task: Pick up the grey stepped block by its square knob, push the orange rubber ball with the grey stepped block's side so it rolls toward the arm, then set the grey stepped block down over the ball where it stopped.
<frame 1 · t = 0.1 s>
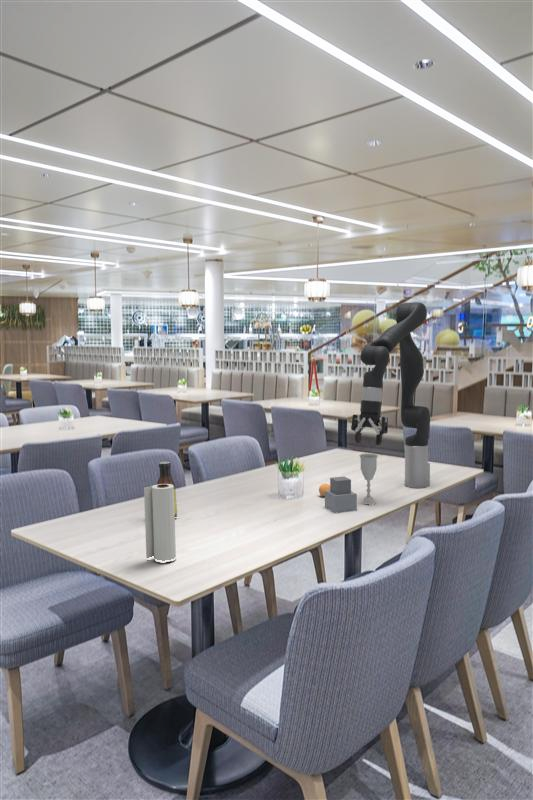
hand: (367, 443, 228), 22 cm above the table, tool pointing down, fingers open, 8 cm apart
paper towel roll: (163, 560, 174), on the table
grey stepped block: (340, 508, 224), on the table
sauce bottle: (167, 519, 214), on the table
ball: (325, 490, 241), on the table
chalice: (368, 503, 231), on the table
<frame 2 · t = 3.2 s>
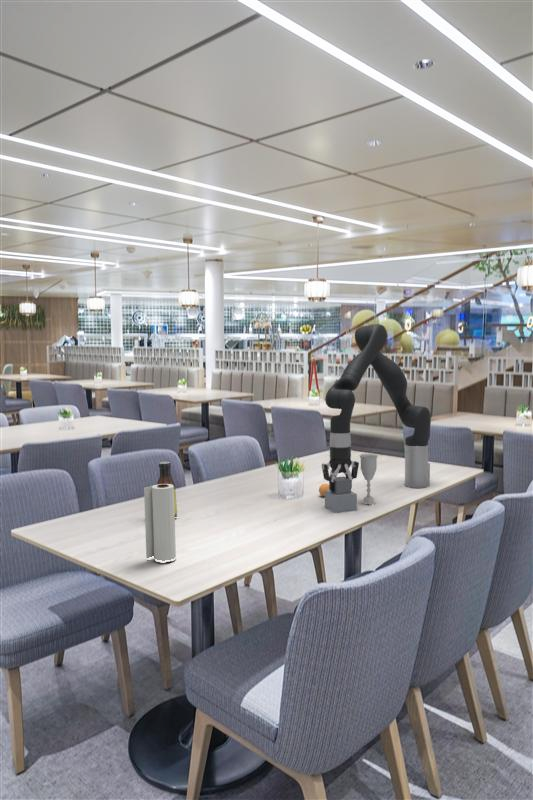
hand: (340, 490, 223), 7 cm above the table, tool pointing down, fingers closed on grey stepped block, 5 cm apart
grey stepped block: (340, 508, 224), on the table, touching gripper
everything else where it was.
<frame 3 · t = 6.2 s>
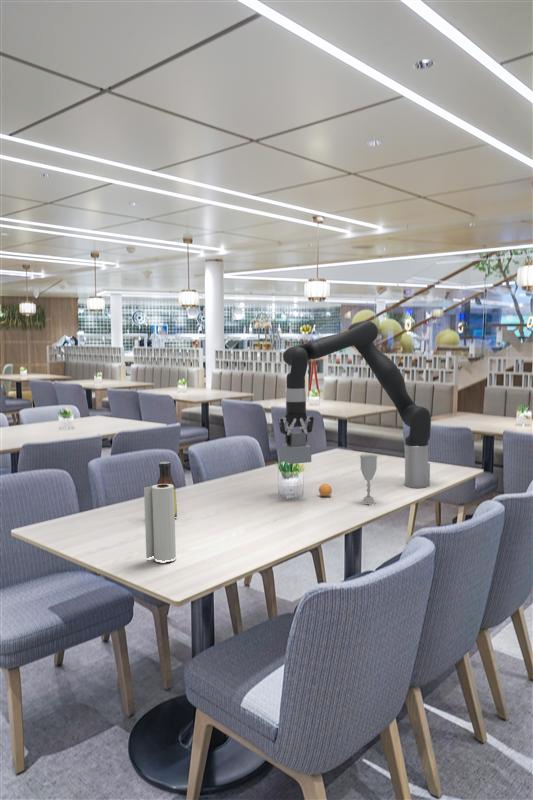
hand: (296, 444, 236), 22 cm above the table, tool pointing down, fingers closed on grey stepped block, 5 cm apart
grey stepped block: (296, 460, 236), point 15 cm above the table, touching gripper
everything else where it was.
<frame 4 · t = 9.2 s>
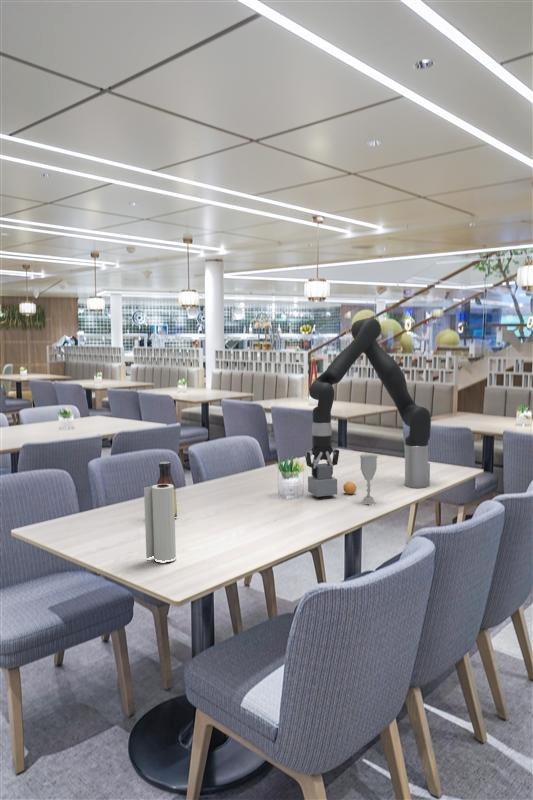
hand: (322, 476, 240), 8 cm above the table, tool pointing down, fingers closed on grey stepped block, 5 cm apart
grey stepped block: (322, 493, 241), point 1 cm above the table, touching gripper
ball: (349, 487, 244), on the table
everything else where it was.
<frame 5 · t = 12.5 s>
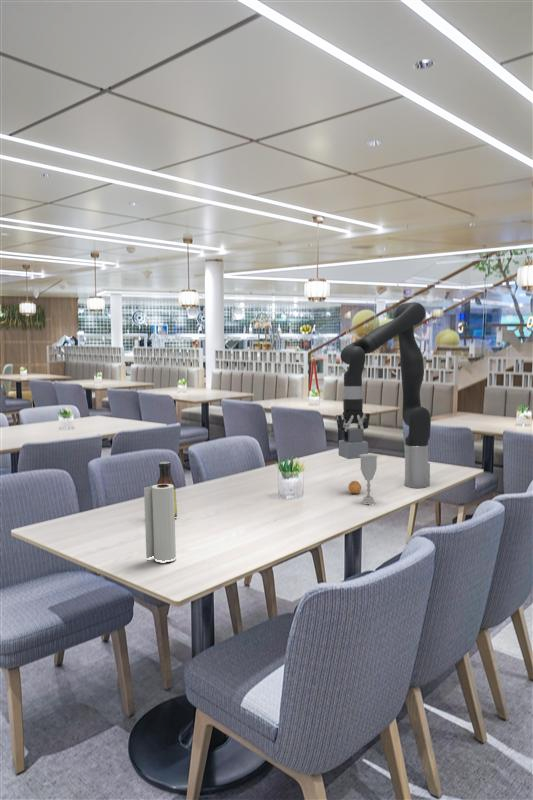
hand: (353, 440, 243), 21 cm above the table, tool pointing down, fingers closed on grey stepped block, 5 cm apart
grey stepped block: (353, 456, 244), point 15 cm above the table, touching gripper
ball: (354, 487, 245), on the table
everything else where it was.
when the fingers open (7 cm above the table, at t = 15.5 s): grey stepped block stays where it is, on the table.
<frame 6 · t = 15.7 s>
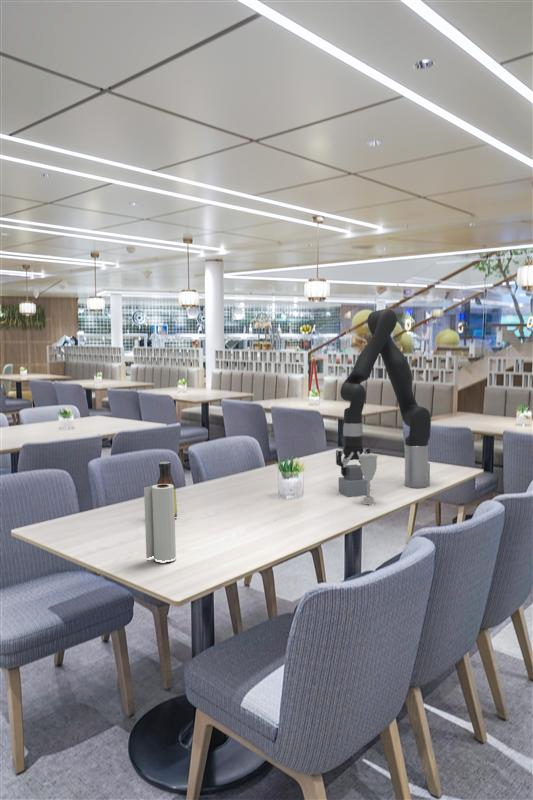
hand: (353, 475, 245), 7 cm above the table, tool pointing down, fingers open, 7 cm apart
grey stepped block: (353, 493, 245), on the table
everything else where it was.
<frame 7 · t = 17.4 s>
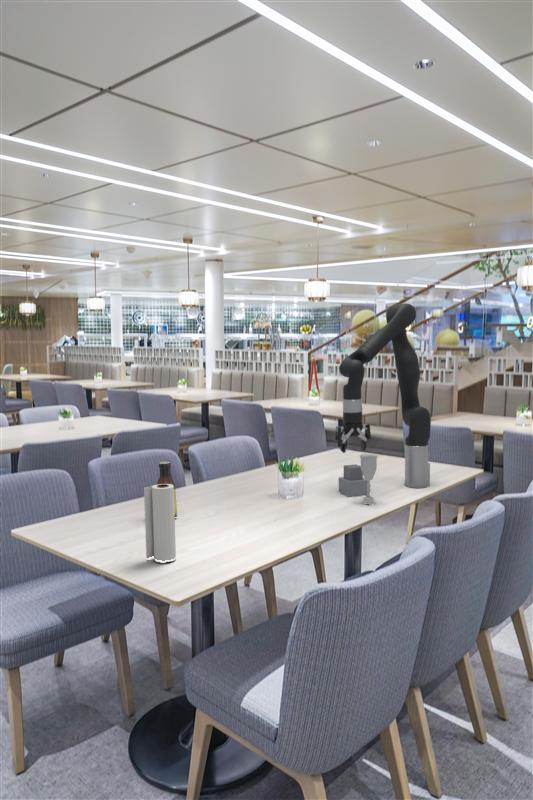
hand: (353, 451, 244), 17 cm above the table, tool pointing down, fingers open, 8 cm apart
nothing on the table moved.
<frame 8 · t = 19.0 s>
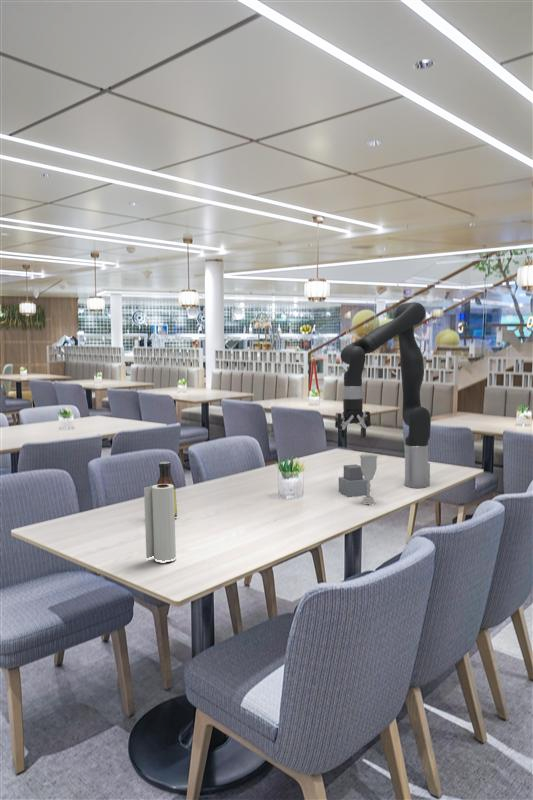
hand: (352, 438, 243), 22 cm above the table, tool pointing down, fingers open, 8 cm apart
nothing on the table moved.
at the end: ball 0.6 cm from the grey stepped block (horizontally); grey stepped block on the table; ball moved 12.6 cm from its start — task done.
